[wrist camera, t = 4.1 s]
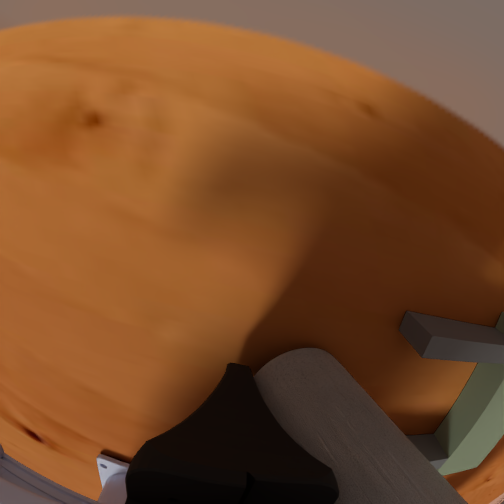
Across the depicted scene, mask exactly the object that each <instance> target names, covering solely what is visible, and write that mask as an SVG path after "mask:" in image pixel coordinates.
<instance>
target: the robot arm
mask: <svg viewBox="0 0 504 504" xmlns="http://www.w3.org/2000/svg"><path fill="white" fill-rule="evenodd" d="M97 465H98V470H99V474H100V479H101V483H102V488H103V489H102V492H101V494H100V496H99V499H98V501H95V500H92V499H90V498H88V497H85V496H83V495H81V494H78V493H76V492H74V491H72V490H70V489H68V488H65V487H63V486H61V485H59V484H57V483H55V482H53V481H51V480H50V479H48V478H46V477H44V476H42V475H40V474H38V473H37V472H35V471H33V470H31V469H30V468H28V467H26V466H25V465H23V464H21V463H20V462H18V461H16V460H15V459H13V458H12V457H10V456H9V455H7V454H6V453H4V450H3V447H2V445H1V444H0V504H334V503H335V502H336V500H337V499H338V497H339V488H338V484H337V481H336V478H335V475H334V473H333V470H332V468H330V467H328V466H327V465H325V464H324V463H322V462H321V461H319V460H318V459H316V458H315V457H313V456H312V455H311V454H309V453H308V452H307V451H306V450H304V449H303V448H302V447H301V446H300V445H299V444H297V443H296V442H295V441H294V440H293V439H292V438H291V437H290V436H289V435H288V434H287V433H286V431H285V430H284V429H283V428H282V427H281V425H280V424H279V423H278V422H277V420H276V419H275V417H274V416H273V414H272V413H271V411H270V410H269V408H268V406H267V405H266V403H265V401H264V399H263V397H262V396H261V394H260V392H259V390H258V387H257V385H256V383H255V380H254V378H253V375H252V372H251V369H250V368H249V366H245V365H240V364H235V363H229V364H227V368H226V372H225V374H224V376H223V378H222V379H221V381H220V382H219V384H218V385H217V387H216V388H215V390H214V391H213V392H212V394H211V395H210V396H209V397H208V398H207V400H206V401H205V402H204V403H203V404H202V405H201V406H200V407H199V408H198V409H197V410H196V411H195V412H193V413H192V414H191V415H190V416H189V417H187V418H186V419H185V420H184V421H182V422H181V423H179V424H178V425H176V426H175V427H173V428H171V429H170V430H168V431H167V432H165V433H163V434H161V435H159V436H157V437H154V438H152V439H150V440H148V441H146V443H145V444H144V445H143V446H142V447H141V448H140V450H139V451H138V452H137V453H136V455H135V456H134V458H133V460H132V461H131V463H130V464H128V463H125V462H122V461H119V460H116V459H113V458H111V457H108V456H105V455H102V454H99V455H98V456H97Z"/></svg>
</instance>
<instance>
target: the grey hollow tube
mask: <svg viewBox="0 0 504 504" xmlns="http://www.w3.org/2000/svg"><path fill="white" fill-rule="evenodd" d="M253 378H254V380H255V383H256V385H257V387H258V390H259V392H260V394H261V396H262V397H263V399H264V401H265V403H266V405H267V406H268V408H269V410H270V411H271V413H272V414H273V416H274V417H275V419H276V420H277V422H278V423H279V424H280V425H281V427H282V428H283V429H284V430H285V431H286V433H287V434H288V435H289V436H290V437H291V438H292V439H293V440H294V441H295V442H296V443H297V444H299V445H300V446H301V447H302V448H303V449H304V450H306V451H307V452H308V453H309V454H311V455H312V456H313V457H315V458H316V459H318V460H319V461H321V462H322V463H324V464H325V465H327V466H328V467H330V468H332V470H333V473H334V475H335V478H336V481H337V484H338V488H339V497H338V499H337V500H336V502H335V503H334V504H468V503H467V502H466V501H465V500H464V499H463V498H462V497H461V496H460V494H459V493H458V492H457V491H456V490H455V489H454V488H453V487H452V486H451V485H450V484H449V483H448V481H447V480H446V479H445V478H444V477H443V476H442V475H441V474H440V473H439V472H438V471H437V470H436V468H435V467H434V466H433V465H432V464H431V463H430V462H429V461H428V460H427V459H426V458H425V456H424V455H423V454H422V453H421V452H420V451H419V450H418V449H417V448H416V447H415V445H414V444H413V443H412V442H411V441H410V440H409V439H408V438H407V437H406V436H405V434H404V433H403V432H402V431H401V430H400V429H399V428H398V427H397V426H396V425H395V423H394V422H393V421H392V420H391V419H390V418H389V417H388V416H387V415H386V414H385V412H384V411H383V410H382V409H381V408H380V407H379V406H378V405H377V404H376V402H375V401H374V400H373V399H372V398H371V397H370V396H369V395H368V394H367V392H366V391H365V390H364V389H363V388H362V387H361V386H360V385H359V384H358V382H357V381H356V380H355V379H354V378H353V377H352V376H351V375H350V374H349V372H348V371H347V370H346V369H345V368H344V367H343V366H342V365H341V364H340V363H339V362H338V361H337V360H336V359H335V358H334V357H333V356H332V355H331V354H330V353H328V352H327V351H324V350H322V349H318V348H301V349H296V350H292V351H289V352H286V353H284V354H282V355H279V356H277V357H276V358H274V359H272V360H271V361H269V362H268V363H267V364H265V365H264V366H263V367H262V368H261V369H260V370H259V371H258V372H257V373H256V374H255V376H254V377H253Z"/></svg>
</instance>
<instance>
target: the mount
mask: <svg viewBox="0 0 504 504" xmlns="http://www.w3.org/2000/svg"><path fill="white" fill-rule="evenodd" d="M399 331H400V333H401V334H402V335H403V336H404V337H405V338H406V339H407V341H408V342H409V343H410V344H411V345H412V347H413V348H414V349H415V350H416V351H417V352H418V354H419V355H420V356H421V357H422V358H430V359H440V360H452V361H464V362H478V364H477V366H476V368H475V370H474V371H473V373H472V375H471V377H470V379H469V380H468V382H467V384H466V386H465V387H464V389H463V391H462V392H461V394H460V395H459V397H458V399H457V400H456V402H455V403H454V405H453V407H452V408H451V410H450V411H449V413H448V414H447V416H446V417H445V419H444V420H443V422H442V423H441V424H440V426H439V427H438V429H437V430H436V431H435V433H434V434H425V435H408V436H406V437H407V438H408V439H409V440H410V441H411V442H412V443H413V444H414V445H415V447H416V448H417V449H418V450H419V451H420V452H421V453H422V454H423V455H424V456H425V458H426V459H427V460H428V461H429V462H430V463H431V464H432V465H433V466H434V467H435V468H436V470H437V471H438V472H439V473H440V474H441V475H442V476H443V475H448V474H452V473H456V472H460V471H464V470H468V469H472V468H475V467H477V466H478V465H479V464H480V463H481V462H482V461H483V460H484V458H485V457H486V456H487V455H488V454H489V452H490V451H491V450H492V449H493V447H494V446H495V445H496V444H497V442H498V441H499V440H500V438H501V437H502V436H503V435H504V312H502V313H501V315H500V318H499V320H498V322H497V325H496V327H495V328H493V327H488V326H483V325H477V324H472V323H467V322H461V321H456V320H451V319H446V318H441V317H435V316H430V315H425V314H420V313H415V312H411V311H406V313H405V316H404V318H403V321H402V323H401V325H400V328H399Z"/></svg>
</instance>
